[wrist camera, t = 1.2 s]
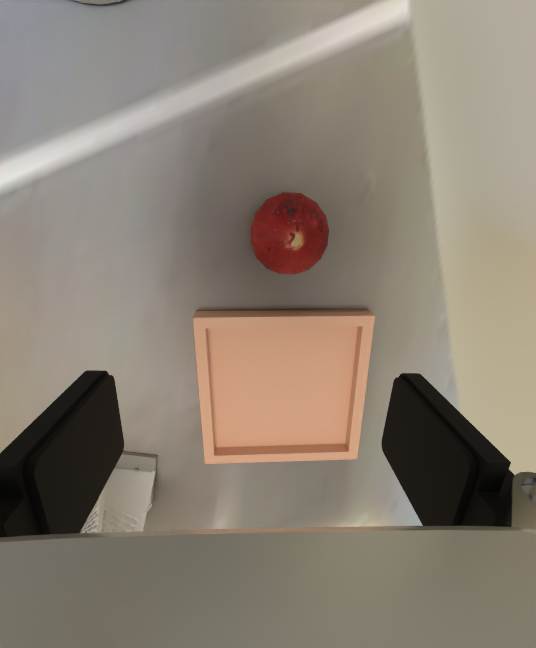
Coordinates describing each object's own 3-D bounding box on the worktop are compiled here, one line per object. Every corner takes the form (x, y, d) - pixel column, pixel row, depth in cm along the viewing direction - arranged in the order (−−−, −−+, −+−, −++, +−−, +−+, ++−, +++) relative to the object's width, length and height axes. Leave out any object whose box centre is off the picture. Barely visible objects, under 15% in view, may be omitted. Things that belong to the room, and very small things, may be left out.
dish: (196, 310, 29) (192, 317, 27) (367, 309, 29) (374, 315, 27) (207, 449, 34) (205, 463, 32) (351, 445, 35) (357, 458, 33)
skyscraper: (170, 456, 34) (-110, 1281, 8) (164, 510, 37) (-60, 1263, 10) (91, 447, 33) (-529, 1342, 7) (90, 503, 36) (-358, 1305, 10)
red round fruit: (251, 194, 25) (250, 186, 18) (320, 196, 26) (348, 189, 18) (250, 265, 27) (249, 285, 20) (314, 266, 28) (337, 286, 20)
